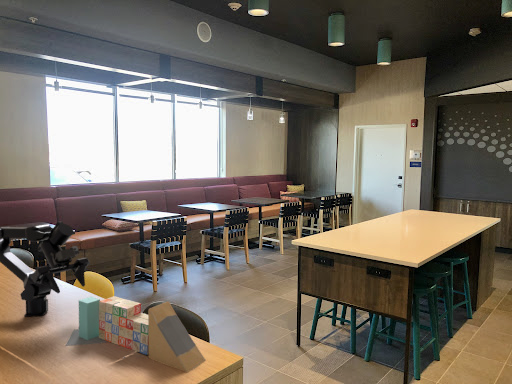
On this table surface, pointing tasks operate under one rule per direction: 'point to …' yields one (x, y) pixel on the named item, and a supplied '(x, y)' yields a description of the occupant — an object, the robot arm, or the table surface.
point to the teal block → (89, 318)
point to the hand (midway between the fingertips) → (71, 289)
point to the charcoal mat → (78, 340)
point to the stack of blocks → (124, 324)
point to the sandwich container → (171, 340)
